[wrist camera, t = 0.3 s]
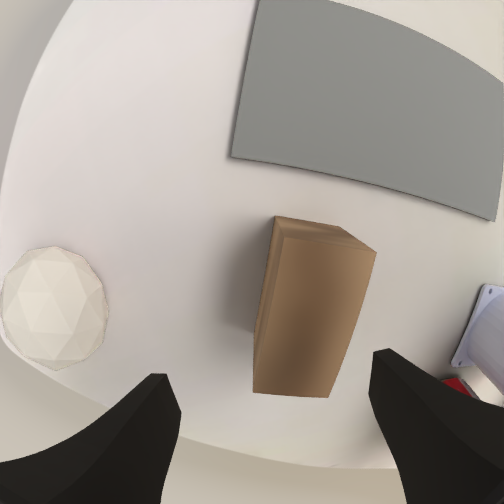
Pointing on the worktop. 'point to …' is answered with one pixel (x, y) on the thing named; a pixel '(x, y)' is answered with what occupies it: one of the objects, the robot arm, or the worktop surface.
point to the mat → (371, 105)
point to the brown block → (308, 307)
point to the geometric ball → (53, 307)
